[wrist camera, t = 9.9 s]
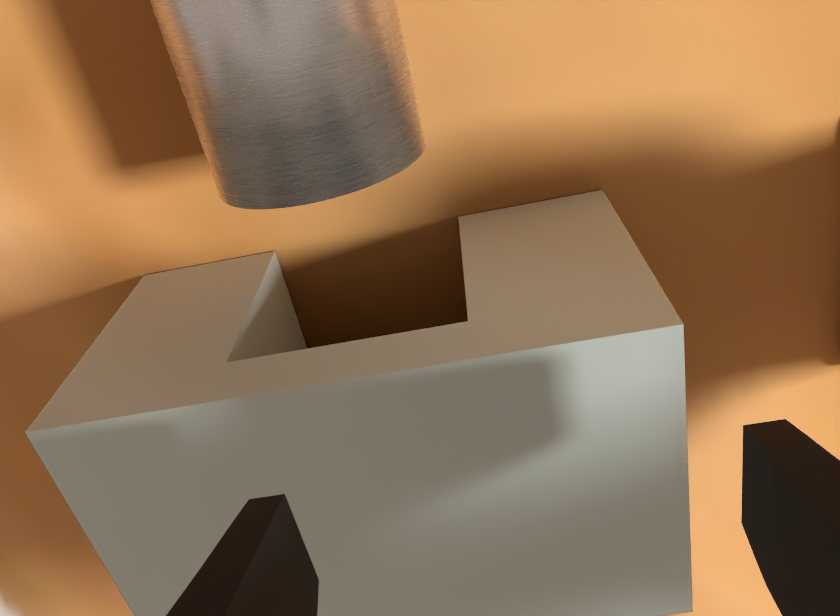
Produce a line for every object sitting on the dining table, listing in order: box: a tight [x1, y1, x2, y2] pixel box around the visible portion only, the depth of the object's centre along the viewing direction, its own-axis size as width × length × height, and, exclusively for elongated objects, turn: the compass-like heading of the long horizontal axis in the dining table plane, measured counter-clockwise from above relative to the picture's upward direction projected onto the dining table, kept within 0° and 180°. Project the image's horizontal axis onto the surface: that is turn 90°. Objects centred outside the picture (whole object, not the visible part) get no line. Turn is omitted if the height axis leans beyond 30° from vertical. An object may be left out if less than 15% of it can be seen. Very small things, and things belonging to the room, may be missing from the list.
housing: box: [25, 190, 693, 616], centre depth 19 cm, size 13×8×7 cm, turn 102°
